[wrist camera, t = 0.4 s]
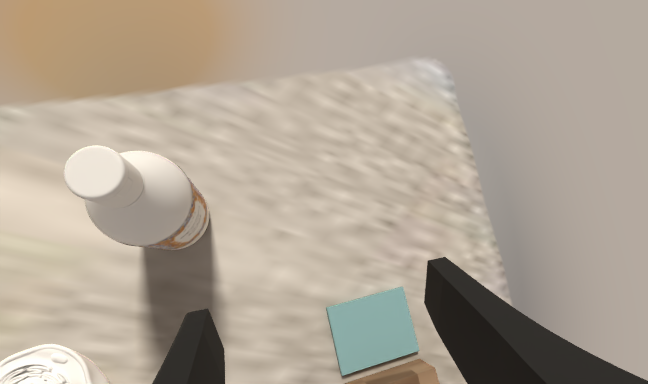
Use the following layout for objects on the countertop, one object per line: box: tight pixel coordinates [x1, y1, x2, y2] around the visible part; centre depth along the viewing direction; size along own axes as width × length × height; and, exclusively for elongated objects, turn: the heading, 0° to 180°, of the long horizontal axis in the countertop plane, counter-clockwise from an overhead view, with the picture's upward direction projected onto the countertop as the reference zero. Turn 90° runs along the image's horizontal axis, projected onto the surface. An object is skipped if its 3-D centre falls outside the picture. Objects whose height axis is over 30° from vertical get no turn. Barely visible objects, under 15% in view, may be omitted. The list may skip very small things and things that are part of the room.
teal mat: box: [326, 287, 419, 376], centre depth 39 cm, size 7×9×1 cm
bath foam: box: [64, 146, 209, 250], centre depth 28 cm, size 7×7×20 cm
